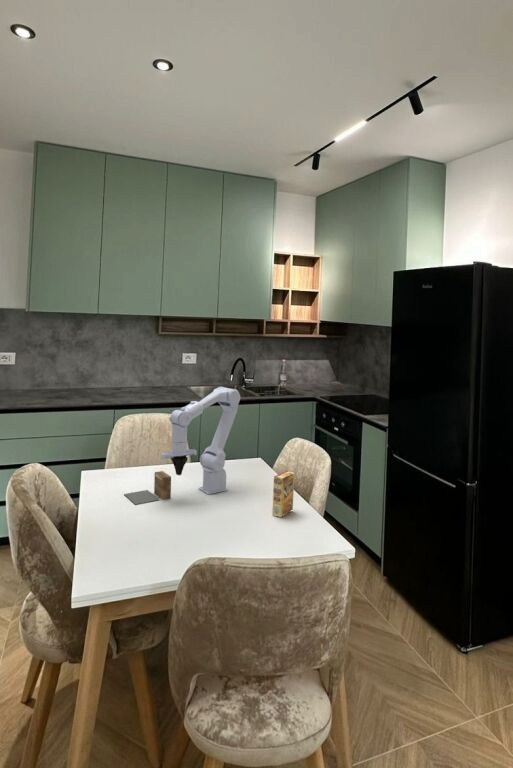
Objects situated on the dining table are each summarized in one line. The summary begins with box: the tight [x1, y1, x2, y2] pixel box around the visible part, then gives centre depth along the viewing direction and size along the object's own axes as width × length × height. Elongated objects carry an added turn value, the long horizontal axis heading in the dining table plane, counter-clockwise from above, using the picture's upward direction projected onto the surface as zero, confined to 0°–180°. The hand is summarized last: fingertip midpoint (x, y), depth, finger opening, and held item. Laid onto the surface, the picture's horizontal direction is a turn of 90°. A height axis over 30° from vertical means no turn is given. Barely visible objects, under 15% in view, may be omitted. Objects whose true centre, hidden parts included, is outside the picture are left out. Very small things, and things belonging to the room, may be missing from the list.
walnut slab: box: [153, 470, 172, 501], centre depth 193 cm, size 4×8×9 cm, turn 36°
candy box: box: [271, 470, 295, 518], centre depth 180 cm, size 9×4×15 cm, turn 146°
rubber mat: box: [123, 489, 161, 506], centre depth 190 cm, size 10×12×1 cm
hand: (178, 474), depth 188 cm, fingers closed
